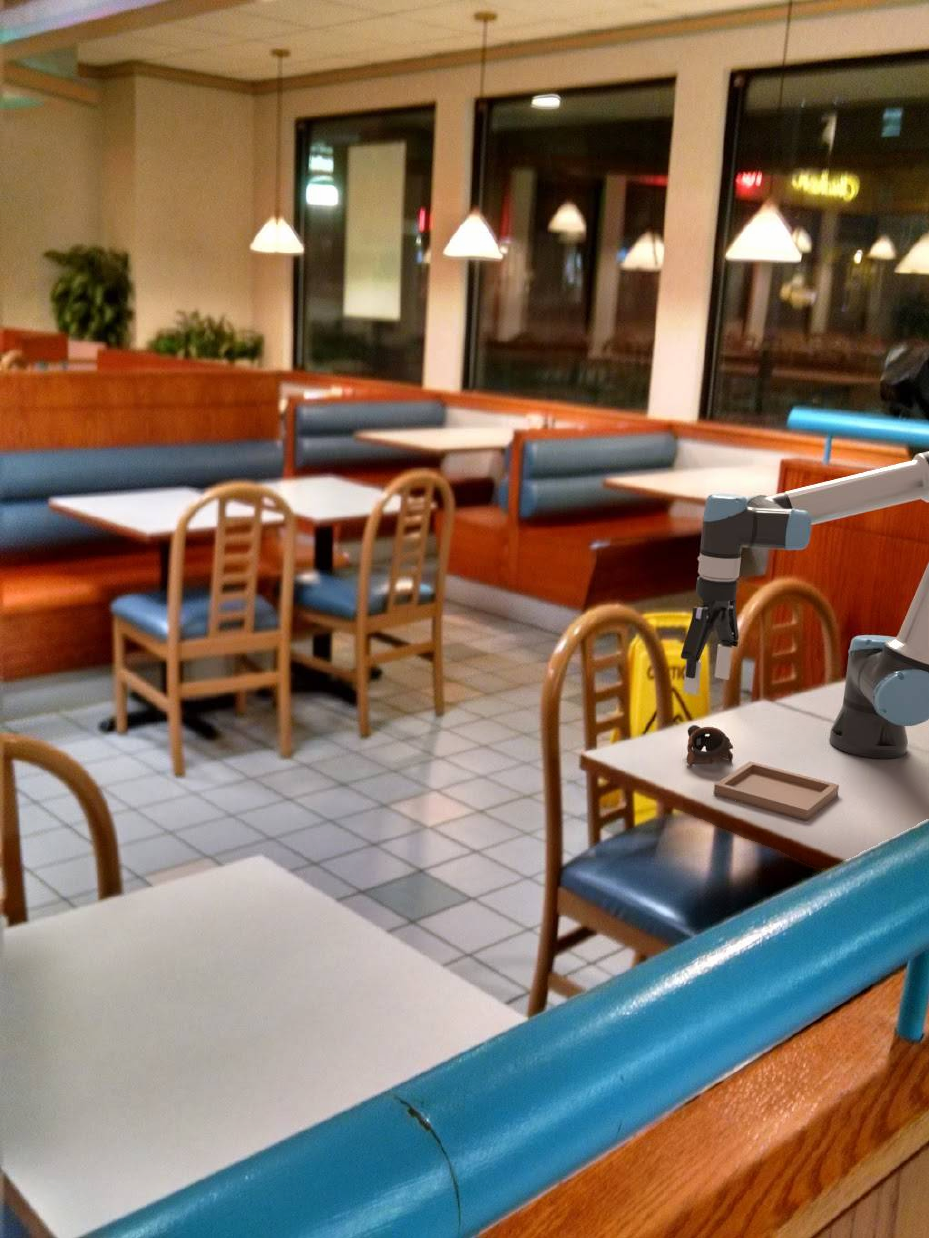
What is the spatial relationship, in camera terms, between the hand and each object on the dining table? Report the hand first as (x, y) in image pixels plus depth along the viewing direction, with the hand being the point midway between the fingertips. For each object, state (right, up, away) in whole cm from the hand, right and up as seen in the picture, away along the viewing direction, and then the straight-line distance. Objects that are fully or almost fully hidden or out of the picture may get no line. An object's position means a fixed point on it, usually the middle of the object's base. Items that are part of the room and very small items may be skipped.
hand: (706, 685), depth 231 cm
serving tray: (+10, -19, -11) cm, 24 cm away
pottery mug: (+1, -15, +4) cm, 16 cm away
